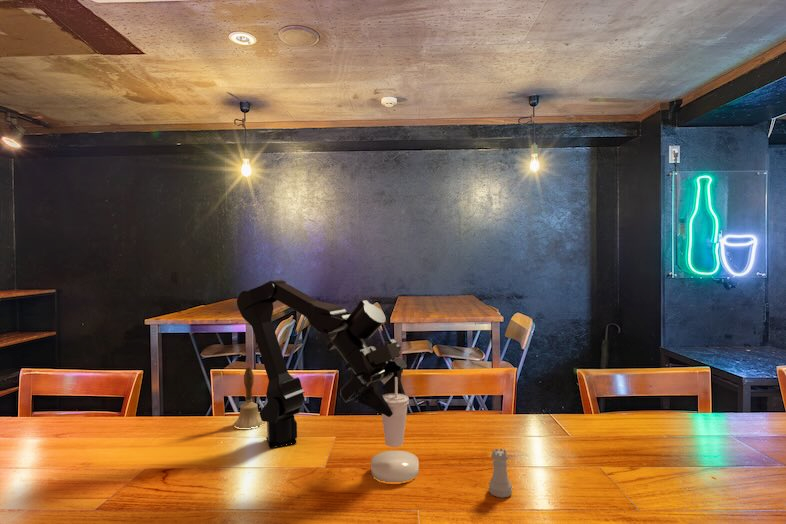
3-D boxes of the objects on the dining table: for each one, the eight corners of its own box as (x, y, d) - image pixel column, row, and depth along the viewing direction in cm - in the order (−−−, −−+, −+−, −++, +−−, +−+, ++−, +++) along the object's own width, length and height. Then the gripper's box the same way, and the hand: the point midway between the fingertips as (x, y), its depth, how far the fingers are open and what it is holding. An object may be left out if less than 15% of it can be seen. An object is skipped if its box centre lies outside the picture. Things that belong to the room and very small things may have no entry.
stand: (382, 489, 88) (381, 476, 88) (364, 467, 97) (364, 456, 97) (427, 478, 92) (426, 466, 92) (406, 458, 101) (406, 447, 101)
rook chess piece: (495, 484, 89) (494, 444, 89) (516, 491, 86) (515, 449, 86) (484, 493, 85) (483, 452, 85) (506, 501, 83) (505, 458, 82)
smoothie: (404, 451, 91) (403, 382, 90) (374, 447, 93) (374, 380, 92) (412, 439, 97) (412, 374, 96) (384, 435, 99) (384, 372, 98)
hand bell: (269, 419, 127) (268, 363, 127) (257, 430, 119) (256, 370, 119) (241, 418, 128) (240, 363, 128) (227, 430, 120) (226, 370, 120)
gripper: (351, 336, 88) (400, 400, 83) (399, 323, 104) (442, 376, 99) (320, 370, 92) (365, 434, 87) (371, 353, 108) (411, 406, 103)
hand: (399, 410), depth 94 cm, fingers closed on smoothie, 6 cm apart
